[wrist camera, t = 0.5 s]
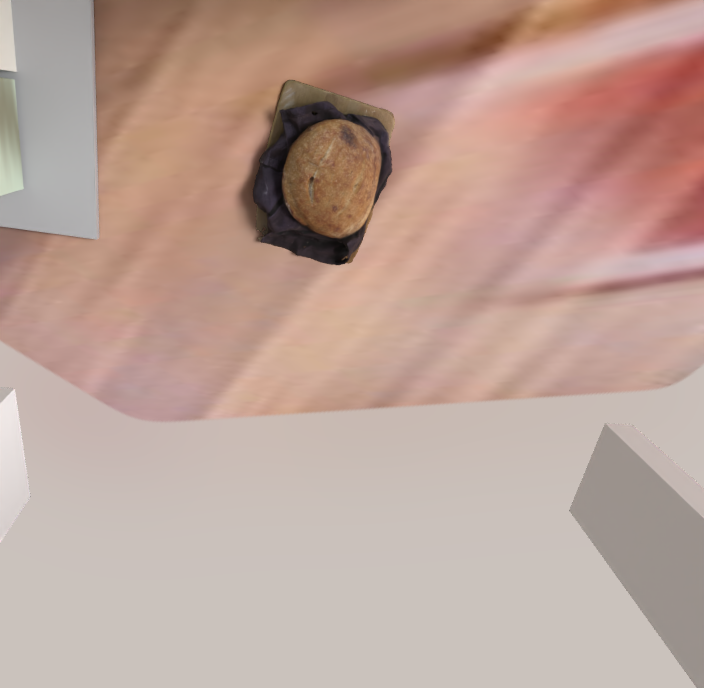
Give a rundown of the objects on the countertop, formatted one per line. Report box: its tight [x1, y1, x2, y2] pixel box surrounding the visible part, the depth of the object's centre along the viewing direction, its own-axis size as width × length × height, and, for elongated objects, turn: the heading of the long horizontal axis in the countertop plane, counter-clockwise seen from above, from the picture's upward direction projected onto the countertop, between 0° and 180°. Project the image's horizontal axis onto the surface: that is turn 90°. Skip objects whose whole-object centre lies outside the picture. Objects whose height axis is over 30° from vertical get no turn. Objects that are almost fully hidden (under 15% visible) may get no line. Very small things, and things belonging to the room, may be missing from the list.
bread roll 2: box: [253, 80, 395, 265], centre depth 32 cm, size 11×8×4 cm
